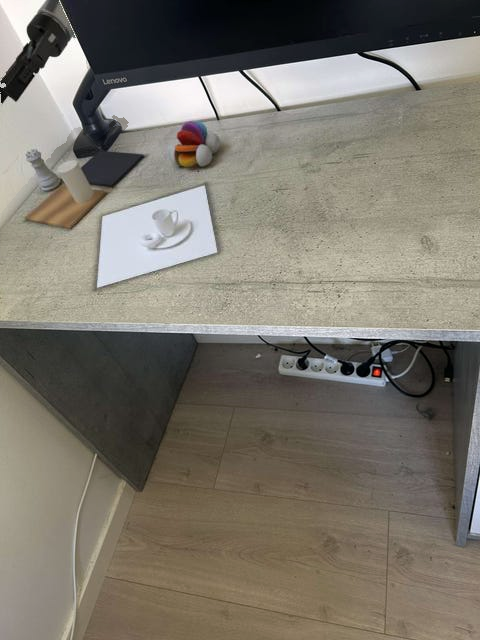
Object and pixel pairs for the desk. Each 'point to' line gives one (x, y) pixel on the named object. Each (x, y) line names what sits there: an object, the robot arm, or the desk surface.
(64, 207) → the brown square board
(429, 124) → the desk surface
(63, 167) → the ivory piece
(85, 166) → the dark mat
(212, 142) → the colorful ball cluster
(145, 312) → the desk surface
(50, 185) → the rook chess piece
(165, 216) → the teacup and saucer
